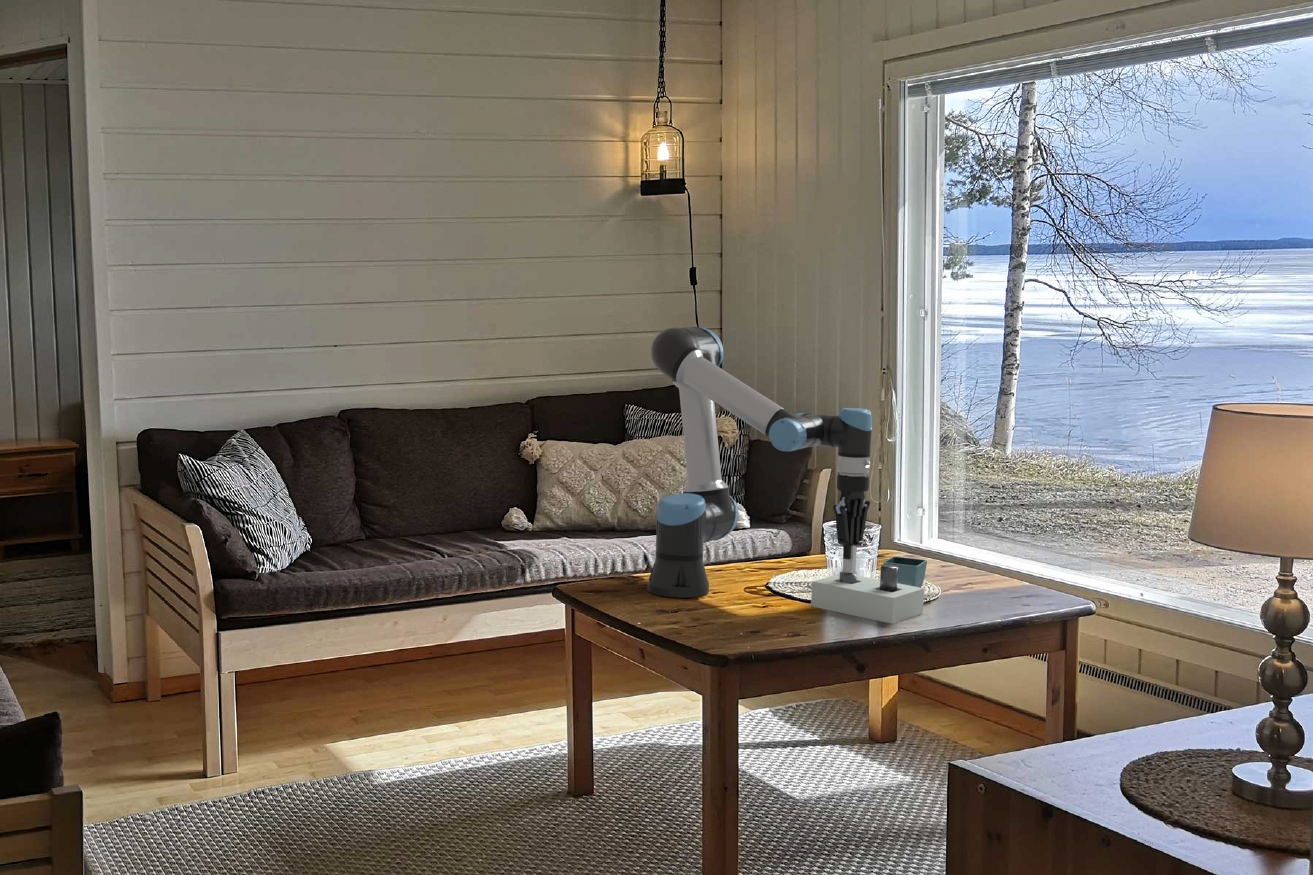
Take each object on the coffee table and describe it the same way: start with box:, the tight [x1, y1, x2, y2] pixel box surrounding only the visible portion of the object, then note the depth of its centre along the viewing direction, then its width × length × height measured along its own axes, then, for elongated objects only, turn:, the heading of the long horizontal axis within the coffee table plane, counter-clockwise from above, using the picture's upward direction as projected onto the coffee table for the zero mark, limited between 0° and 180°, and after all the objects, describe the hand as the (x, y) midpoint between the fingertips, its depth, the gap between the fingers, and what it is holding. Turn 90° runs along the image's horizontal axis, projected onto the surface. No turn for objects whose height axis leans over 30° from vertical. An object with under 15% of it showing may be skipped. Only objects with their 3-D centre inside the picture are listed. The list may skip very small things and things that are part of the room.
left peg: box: [839, 570, 858, 584], centre depth 310 cm, size 4×4×6 cm
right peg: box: [879, 564, 898, 592], centre depth 303 cm, size 4×4×6 cm
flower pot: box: [882, 556, 928, 588], centre depth 322 cm, size 9×9×9 cm
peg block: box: [810, 573, 925, 625], centre depth 307 cm, size 22×14×6 cm, turn 50°
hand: (848, 571), depth 310 cm, fingers closed
